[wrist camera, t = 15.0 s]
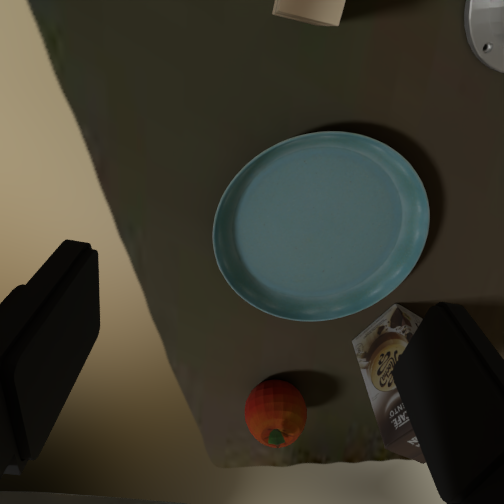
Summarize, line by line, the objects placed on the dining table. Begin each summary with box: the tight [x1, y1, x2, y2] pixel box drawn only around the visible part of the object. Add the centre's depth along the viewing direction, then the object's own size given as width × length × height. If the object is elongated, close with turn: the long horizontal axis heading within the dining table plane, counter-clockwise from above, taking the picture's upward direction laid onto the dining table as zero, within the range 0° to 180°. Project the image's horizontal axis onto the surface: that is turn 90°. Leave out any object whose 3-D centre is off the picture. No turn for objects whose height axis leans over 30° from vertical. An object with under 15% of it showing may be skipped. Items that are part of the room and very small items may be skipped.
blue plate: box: [213, 131, 430, 321], centre depth 42 cm, size 24×24×3 cm
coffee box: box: [352, 303, 426, 464], centre depth 45 cm, size 9×6×16 cm
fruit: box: [245, 380, 307, 448], centre depth 55 cm, size 10×10×10 cm
